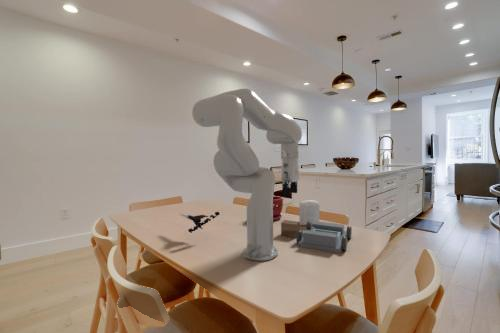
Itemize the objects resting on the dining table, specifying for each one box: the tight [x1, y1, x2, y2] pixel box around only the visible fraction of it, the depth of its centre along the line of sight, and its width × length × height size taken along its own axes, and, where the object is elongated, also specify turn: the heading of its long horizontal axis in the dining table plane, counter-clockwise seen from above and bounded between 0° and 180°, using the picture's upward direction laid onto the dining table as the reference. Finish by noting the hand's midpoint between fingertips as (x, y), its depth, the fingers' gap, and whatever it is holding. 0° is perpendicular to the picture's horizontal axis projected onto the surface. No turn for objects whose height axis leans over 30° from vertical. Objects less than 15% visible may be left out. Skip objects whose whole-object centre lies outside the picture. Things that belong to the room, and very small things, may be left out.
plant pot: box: [273, 195, 284, 221], centre depth 137 cm, size 13×13×12 cm
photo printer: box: [298, 199, 320, 226], centre depth 125 cm, size 10×4×12 cm, turn 98°
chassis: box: [295, 220, 353, 254], centre depth 102 cm, size 22×18×6 cm
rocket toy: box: [178, 211, 221, 234], centre depth 110 cm, size 14×6×23 cm
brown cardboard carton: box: [280, 219, 301, 239], centre depth 109 cm, size 4×7×6 cm, turn 61°
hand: (290, 194), depth 108 cm, fingers open, 9 cm apart
